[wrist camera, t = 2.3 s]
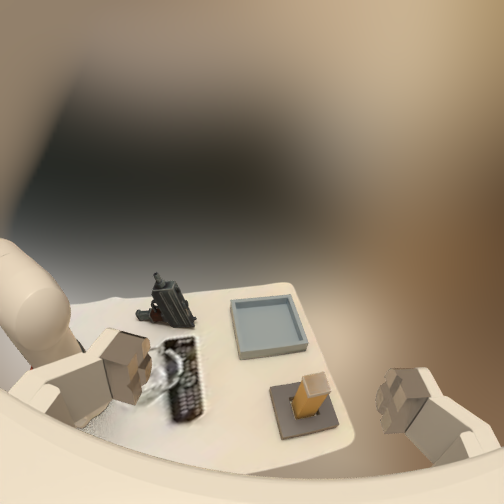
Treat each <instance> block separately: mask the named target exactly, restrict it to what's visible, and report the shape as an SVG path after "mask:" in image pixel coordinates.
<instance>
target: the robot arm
mask: <svg viewBox="0 0 504 504" xmlns="http://www.w3.org/2000/svg"><path fill="white" fill-rule="evenodd" d="M70 317H71V308H70V304H69V301H68V298H67V297H66V295H65V294H64V292H63V291H62V289H61V288H60V286H59V285H58V284H57V282H56V281H55V280H54V278H53V277H52V276H51V275H50V274H49V273H48V272H47V271H46V270H45V269H43V268H42V267H41V266H40V265H38V263H36V262H35V261H34V260H33V259H32V258H31V257H29V256H28V255H26V254H25V253H24V252H23V251H22V250H21V249H20V248H19V247H17V246H16V245H15V244H14V243H13V242H11V241H8V240H5V239H2V238H0V326H1V327H2V329H3V330H4V331H5V333H6V334H7V336H8V337H9V338H10V340H11V341H12V342H13V344H14V345H15V346H16V347H17V349H18V350H19V351H20V353H21V354H22V355H23V356H24V358H25V359H26V360H27V361H28V363H29V364H30V365H31V369H30V370H29V371H27V372H26V373H25V374H24V375H23V376H22V377H21V378H20V379H19V381H17V383H16V384H15V385H14V386H13V387H12V388H11V389H10V391H9V392H6V391H5V390H3V389H1V388H0V504H504V447H501V446H500V444H499V442H498V441H497V439H496V437H495V435H494V433H493V431H492V429H491V427H490V425H488V424H487V423H485V422H484V421H482V420H481V419H479V418H478V417H476V416H475V415H473V414H472V413H471V412H469V411H468V410H466V409H465V408H463V407H462V406H460V405H459V404H457V403H456V402H454V401H453V400H452V399H450V398H449V397H447V396H443V394H442V393H441V391H440V389H439V387H438V385H437V383H436V382H435V380H434V378H433V376H432V374H431V373H430V371H429V369H427V368H390V369H389V370H388V371H387V373H386V375H385V380H386V382H385V383H383V384H382V385H381V386H380V387H379V389H378V391H377V395H376V407H377V411H378V412H379V413H381V414H382V415H383V416H382V418H381V419H380V421H381V425H382V428H383V431H384V434H392V433H405V435H406V436H407V437H408V438H409V439H410V440H411V441H412V442H413V443H414V444H415V445H416V446H417V447H418V449H419V450H420V451H421V452H422V453H423V454H424V455H425V456H426V457H427V458H428V459H429V460H430V461H431V462H432V463H433V464H434V465H433V466H432V467H431V468H426V469H421V470H416V471H410V472H403V473H396V474H389V475H380V476H371V477H360V478H343V479H292V478H274V477H262V476H252V475H244V474H236V473H229V472H223V471H217V470H211V469H206V468H200V467H196V466H191V465H186V464H182V463H178V462H173V461H169V460H166V459H162V458H158V457H155V456H151V455H148V454H144V453H141V452H138V451H134V450H131V449H128V448H125V447H122V446H119V445H117V444H114V443H111V442H108V441H106V440H103V439H100V438H98V437H95V436H93V435H90V434H88V433H86V432H83V431H81V430H78V429H77V428H76V427H78V428H84V427H85V426H86V425H87V424H88V423H89V421H90V420H91V419H92V418H94V417H96V416H97V415H99V414H100V413H101V412H103V411H104V410H105V408H106V407H107V406H108V404H109V402H110V401H112V399H115V400H118V401H121V402H125V403H128V404H132V405H136V403H137V401H138V399H139V397H140V395H141V393H142V388H141V386H142V385H144V384H146V383H147V381H148V379H149V377H150V373H151V368H152V360H151V357H150V356H149V354H148V351H149V349H150V340H149V339H148V338H146V337H142V336H138V335H135V334H131V333H127V332H124V331H120V330H116V329H112V328H107V329H105V330H104V332H103V333H102V334H101V335H100V336H99V337H98V339H97V340H96V341H95V342H94V343H93V345H92V346H91V347H90V348H89V349H88V351H87V352H86V351H85V349H84V348H83V346H82V345H81V343H80V342H79V341H78V340H77V339H76V338H75V337H74V335H73V333H72V332H71V330H70V328H69V322H70ZM75 422H76V423H75Z"/></svg>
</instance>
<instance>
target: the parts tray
mask: <svg viewBox="0 0 504 504" xmlns="http://www.w3.org/2000/svg"><path fill="white" fill-rule="evenodd" d="M230 309H231V315H232V320H233V326H234V331H235V337H236V342H237V347H238V353H239V358H240V360H245V359H253V358H261V357H269V356H276V355H283V354H290V353H296V352H303V351H306V349H307V346H308V340H307V337H306V334H305V332H304V329H303V326H302V323H301V321H300V318H299V315H298V313H297V310H296V307H295V305H294V302H293V299H292V297H291V294H289V295H280V296H270V297H259V298H248V299H237V300H231V308H230Z"/></svg>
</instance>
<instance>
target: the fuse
mask: <svg viewBox="0 0 504 504" xmlns="http://www.w3.org/2000/svg"><path fill="white" fill-rule="evenodd" d="M330 392H331V388H330V385H329V383H328V380H327V377H326V374H325V372H320V373H315V374H309V375H304V376H303V377H302V381H301V383H300V386H299V388H298V390H297V392H296V394H295V397H294V399H293V401H292V403H291V404H292V408H293V411H294V415H295V418H296V419H301V418H306V417H310V416H314V415H315V413H316V412H317V410H318V409H319V407H320V406H321V404H322V403H323V401H324V400H325V398H326V397H327V395H328V394H330Z"/></svg>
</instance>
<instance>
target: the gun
mask: <svg viewBox="0 0 504 504" xmlns="http://www.w3.org/2000/svg"><path fill="white" fill-rule="evenodd" d="M154 278H155V280H156V283H155V285H154V287H153V290H152V297H153V298H154V300H152V302H151V307H152V308H150V309H149V311H140V310H137V311H136V316H137V318H138V319H139V320H140V321H142V320H149V319H150V321H151V322H152V323H155V322H157V321H163V322H168V323H169V324H170V325H171V326H172V327H173V328H177V327H195V325H194V323H193V322H194V320H196V319H197V318H196V317H193V315H192V313H191V311H190V309H189V307H188V301H187V300H185V299H184V297H183V295H182V293H181V291H180V289H179V287H178V285H177V283H176V281H167V282H165V281H164V280H163V279H161V277H160V275H159V273H157V272H156V273H154ZM153 303H156V304H157V305H158V306H156V305H154V304H153ZM156 308H158V309H156Z"/></svg>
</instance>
